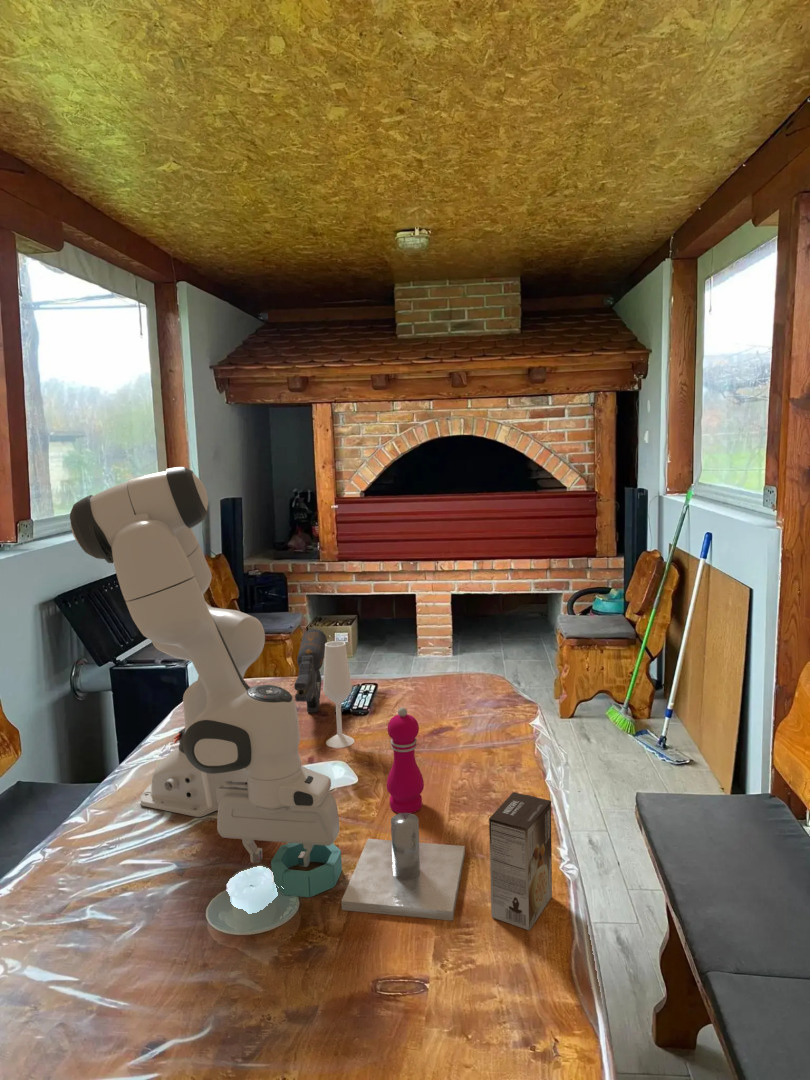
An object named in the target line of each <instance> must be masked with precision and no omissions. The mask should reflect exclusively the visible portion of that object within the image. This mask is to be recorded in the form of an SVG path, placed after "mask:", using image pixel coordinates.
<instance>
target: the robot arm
mask: <svg viewBox="0 0 810 1080" xmlns="http://www.w3.org/2000/svg"><path fill="white" fill-rule="evenodd" d="M208 505H209V499H208V492H207V488H206V487H205V485H204V484H203V482H202V480H201V479H200V478H199V477H198V476H197V475H196V474H195V473H194V470H192V469H189V468H187V467H186V466H176V467H170V468H166V470H165V471H164V470H163V471H158V472H153V473H149V474H145V475H141V476H136V477H134V478H131V479H128V480H127V481H126V482H125V481H124V482H122V483H119V484H116V485H114V486H112V487H109V488H107V489H104V490H103V491H100V492H98V493H96V494H95V495H91V494H89V495H87V496H85V497H83V498H82V499H80V500H78V501H77V502H75V503H74V504H73V506H72V508H71V510H70V513H69V520H70V528H71V533H72V535H73V538H74V539H75V541H76V543H77V544H78V545H79V547H81V549H82V551H83V552H85V554H87V555H89V556H91V557H93V558H94V559H98V560H104V561H106V562H107V563H108V564H114V570H115V574H116V578H117V581H118V584H119V587H120V591H121V594H122V596H123V600H124V601H125V605H126V606H127V609H128V611H129V614H130V617H131V619H132V620H133V622H134V624H135V625H136V627H137V629H138V630H139V631H140V633H141V634H142V636H143V637H145V638H146V639H148V640H150V641H151V643H152V645H153V647H155V649H156V650H158V651H160V652H162V653H164V654H166V655H168V656H170V657H172V658H174V659H179V660H184V661H191V662H192V665H193V667H194V669H195V671H196V673H197V674H198V676H197V677H198V678H197V680H196V681H194V682H192V683H191V684H190V685H189V686H188V687H187V688H186V690H185V691H184V693H183V696H182V703H183V715H184V727H183V728H182V729H180V730H179V731H178V734H177V735H176V736H174V738H173V740H174V741H173V742H174V744H176V743H177V742H179V744H178V747H176V748H174V749H173V750H172V751H171V752H169V754H167V755H166V757H164V758H163V759H162V760H161V761H160V762H159V763H158V764H157V765H156V767H155V769H154V771H153V773H152V778H151V783H150V784H149V785H148V786H147V787H146V788H145V790H143V792H142V794H141V796H140V805H141V806H143V807H147V808H152V809H157V810H162V811H166V812H172V813H176V814H182V815H186V816H190V817H196V818H201V817H204V816H207V815H208V814H211V813H214V812H216V811H217V818H216V819H217V821H216V822H217V823H216V825H217V826H216V827H217V828H216V829H217V833H218V834H219V835H220V837H221V838H225V839H226V838H227V839H237V840H238V839H239V840H242V845H243V846H244V848H245V849H246V851H247V852H248V854H249V858H250V859H249V860H250V863H254V864H255V863H256V864H259V863H261V861H262V860H263V855H264V854H263V848H262V847H258V846H257V844H256V842H255V841H262V842H263V841H264V842H277V843H286V844H287V843H299V844H303V847H304V849H307V850H306V852H303V851H301V853H300V855H299V856H298V862H299V863H298V864H297V866H298V867H304V868H308V866H309V865H310V862H311V861H310V852H311V850H312V848H313V846H314V845H325V846H330V845H331V844H332V843H333V844H334V843H335V841H336V839H337V838H338V836H339V833H340V830H341V829H340V828H341V827H340V818H339V812H338V811H339V810H338V806H337V802H336V798H335V797H334V796H333V794H332V793H331V792H330V790H331V787H332V780H331V777H329V776H327V775H325V774H322V773H319V772H317V771H315V770H312V769H309V768H307V767H306V766H303V765H302V759H301V756H300V754H299V745H300V742H301V741H300V740H301V736H300V723H299V714H298V710H297V706H296V703H295V702H296V701H295V698H294V696H293V695H292V694H291V693H290V692H289V691H288V690H287V689H285V688H283V687H281V686H278V685H274V684H259V685H254V686H251V687H250V686H249V684H248V683H247V682H246V680H245V679H244V677H245V674H246V671H247V670H248V668H249V667H250V666H251V665H252V664H253V663H254V662H256V661H257V660H258V659H259V658H260V655H262V653H263V649H264V647H265V642H266V633H265V630H264V629H265V628H264V627H263V623H261V621H260V620H259V619H258V618H257V617H255V616H253V615H250V614H248V613H245V612H242V611H239V610H236V609H231V608H230V609H228V608H220V607H214V606H211V605H210V604H208V603H207V601H206V600H205V596H204V594H205V593H207V590H208V589H209V587H210V584H211V581H212V578H213V577H212V571H211V568H210V567H209V564H208V562H207V560H206V557H205V555H204V553H203V550H202V548H201V545H200V544H199V541H198V539H197V536H196V534H195V532H194V530H193V529H192V528H194V527H195V526H197V525H199V524H200V523H202V522H203V521H204V520H205V518H206V517H207V515H208V511H209V510H208Z"/></svg>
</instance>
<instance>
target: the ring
mask: <svg viewBox="0 0 810 1080" xmlns="http://www.w3.org/2000/svg"><path fill="white" fill-rule="evenodd" d="M306 850H307V849H304V847H303V844H299V843H287V842H286V843H284V844H282V845H281V846H279V848H278V849H277V850H276V853H274V855H273V857H272V858H271V860H270V865H271V867H270V868H271V873H272V872H273V875H274V882H275V884H276V885H277V886H278V887H279V889H278V891H280V893H281V894H282V895H283V896H290V897H291V896H292V897H301V898H312V897H314V896H316V895H319V894H321V893H323V892H326V891H329V890H331V889H333V888H335V887H336V885H337V882H338V880H339V878H340V876H341V874H342V872H343V867H342V865H343V863H342V862H343V861H342V850H341V849H340V848H339V847H338V846H337V845H335V843H334V842H333V843H332V844H331V845H330V846H325V845H314V846H313V848H312V850H311V852H310V862H311V863H313V862H314V863H323V865H320V866H317V867H315V868H313V869H311V870H298V869H297V870H296V869H290V868H292V867H294V866H298V863H299V862H298V856H299V855H300V853H301V851H303V852H306ZM275 884H274V885H275ZM276 885H275V886H276ZM277 886H276V887H277ZM281 886H282V887H283V888H284V889H283V888H282V887H281Z"/></svg>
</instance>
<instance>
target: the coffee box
mask: <svg viewBox="0 0 810 1080" xmlns="http://www.w3.org/2000/svg"><path fill="white" fill-rule="evenodd" d="M488 824H489V827H488V830H489V863H490V866H489V867H490V868H489V869H490V871H489V873H490V874H489V875H490V907H491V908H490V912H491V914H490V915H491V917H492V918H493V919H496V920H499V921H501V922H505V923H507V924H510V925H513V926H515V927H518V928H521V929H524V930H527V931H530V930H531V929H532V928H533V927H534V925H535V923H536V922H537V920H538V919H539V917H540V915H541V914H542V912H543V911H544V909H545V908H546V906H547V904H548V903H549V901H550V900H551V899H552V897H553V886H552V885H553V880H552V879H553V877H552V876H553V871H552V868H553V867H552V863H553V862H552V853H553V852H552V851H553V850H552V800H551V799H550V800H549V799H545V798H540V797H537V796H532V795H529V794H523V793H518V792H515V791H513V792H512V793H511V794H510V795H509V796H508V797H507V798H506V799H505V800H504V802H502V804H501V805H500V806H499V807H498V808H497V809H496V810H495V811H494V812H493V814H491V816H490V817H489V818H488Z"/></svg>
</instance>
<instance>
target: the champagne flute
mask: <svg viewBox="0 0 810 1080" xmlns="http://www.w3.org/2000/svg"><path fill="white" fill-rule="evenodd" d="M348 659H349V658H348V652H347V645H346V642H345V641H344V640H331V641H328V642H326V644H325V653H324V659H323V666H324V667H323V684H322V685H323V687H322V690H323V693H324V696H325V697H326V698H328V699H329V700H330V701H331V702H332V703H334V704H335V712H336V716H335V717H336V734H335V735H333V736H332V737H330V738H328V739H327V740H326V742H325V744H326V746H327V747H330V748H334V749H341V748H343V749H344V748H346V747H350V746H352V745H353V744H354V743H355V739H354V738H353V737H351V736H349V735H347V734H344V733H343V724H342V723H343V722H342V703H343V702H345V700H346V699H348V697H349V695H350V694H351V692H352V690H353V687H352V679H351V673H350V665H349V660H348Z"/></svg>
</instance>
